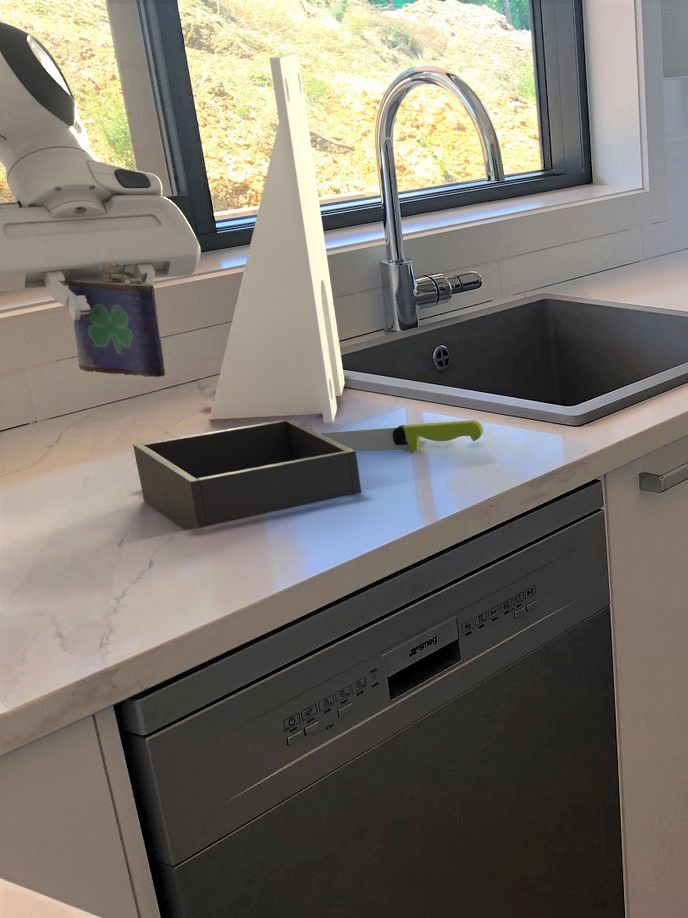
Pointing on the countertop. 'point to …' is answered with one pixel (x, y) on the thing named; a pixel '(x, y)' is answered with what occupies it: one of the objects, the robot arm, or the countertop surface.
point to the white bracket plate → (284, 285)
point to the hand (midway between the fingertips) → (116, 312)
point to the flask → (118, 326)
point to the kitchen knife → (406, 435)
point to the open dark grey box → (243, 472)
